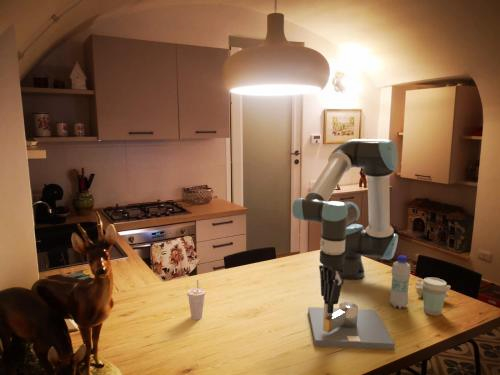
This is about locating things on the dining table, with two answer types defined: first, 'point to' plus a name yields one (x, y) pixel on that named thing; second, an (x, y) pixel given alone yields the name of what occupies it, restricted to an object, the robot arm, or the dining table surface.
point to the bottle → (400, 282)
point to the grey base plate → (351, 331)
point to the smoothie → (196, 302)
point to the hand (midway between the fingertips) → (327, 320)
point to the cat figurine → (420, 288)
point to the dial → (342, 317)
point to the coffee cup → (433, 295)
